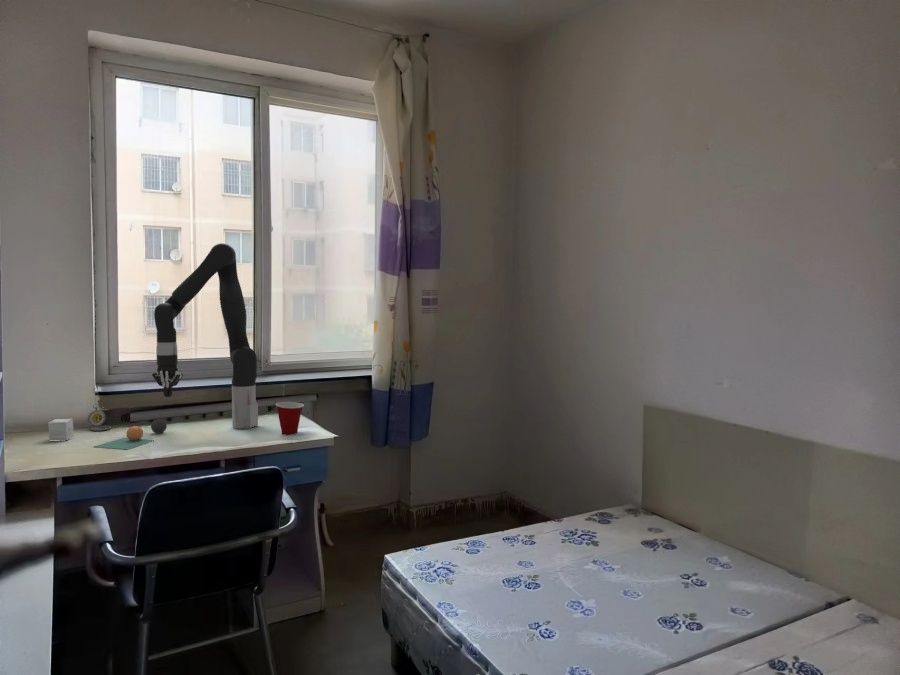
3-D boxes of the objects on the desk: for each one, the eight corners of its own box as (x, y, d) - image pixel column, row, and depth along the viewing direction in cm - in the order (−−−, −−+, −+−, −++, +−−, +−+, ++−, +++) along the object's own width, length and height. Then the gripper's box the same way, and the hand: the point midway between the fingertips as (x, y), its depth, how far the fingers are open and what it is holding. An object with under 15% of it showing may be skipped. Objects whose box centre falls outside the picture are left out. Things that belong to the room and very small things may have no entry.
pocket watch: (104, 431, 236) (103, 406, 236) (83, 431, 236) (82, 406, 236) (116, 427, 244) (115, 403, 244) (96, 427, 245) (95, 402, 244)
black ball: (163, 418, 233) (158, 431, 230) (171, 422, 237) (166, 435, 235) (150, 416, 234) (145, 430, 232) (159, 421, 239) (154, 434, 236)
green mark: (155, 440, 223) (155, 440, 223) (127, 449, 209) (127, 449, 209) (123, 438, 226) (123, 437, 226) (93, 447, 213) (93, 446, 213)
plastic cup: (299, 437, 231) (299, 406, 230) (271, 436, 231) (271, 405, 231) (307, 430, 242) (307, 401, 241) (281, 430, 242) (281, 400, 241)
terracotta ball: (138, 424, 220) (133, 439, 218) (148, 428, 225) (143, 443, 223) (125, 423, 221) (120, 438, 219) (135, 428, 226) (130, 442, 224)
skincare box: (74, 437, 226) (73, 418, 226) (66, 441, 220) (65, 421, 220) (56, 438, 225) (55, 418, 225) (48, 442, 219) (47, 422, 219)
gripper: (187, 353, 240) (188, 396, 241) (159, 352, 243) (160, 394, 244) (175, 354, 233) (176, 399, 234) (145, 353, 236) (147, 397, 237)
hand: (168, 396), depth 239 cm, fingers closed
